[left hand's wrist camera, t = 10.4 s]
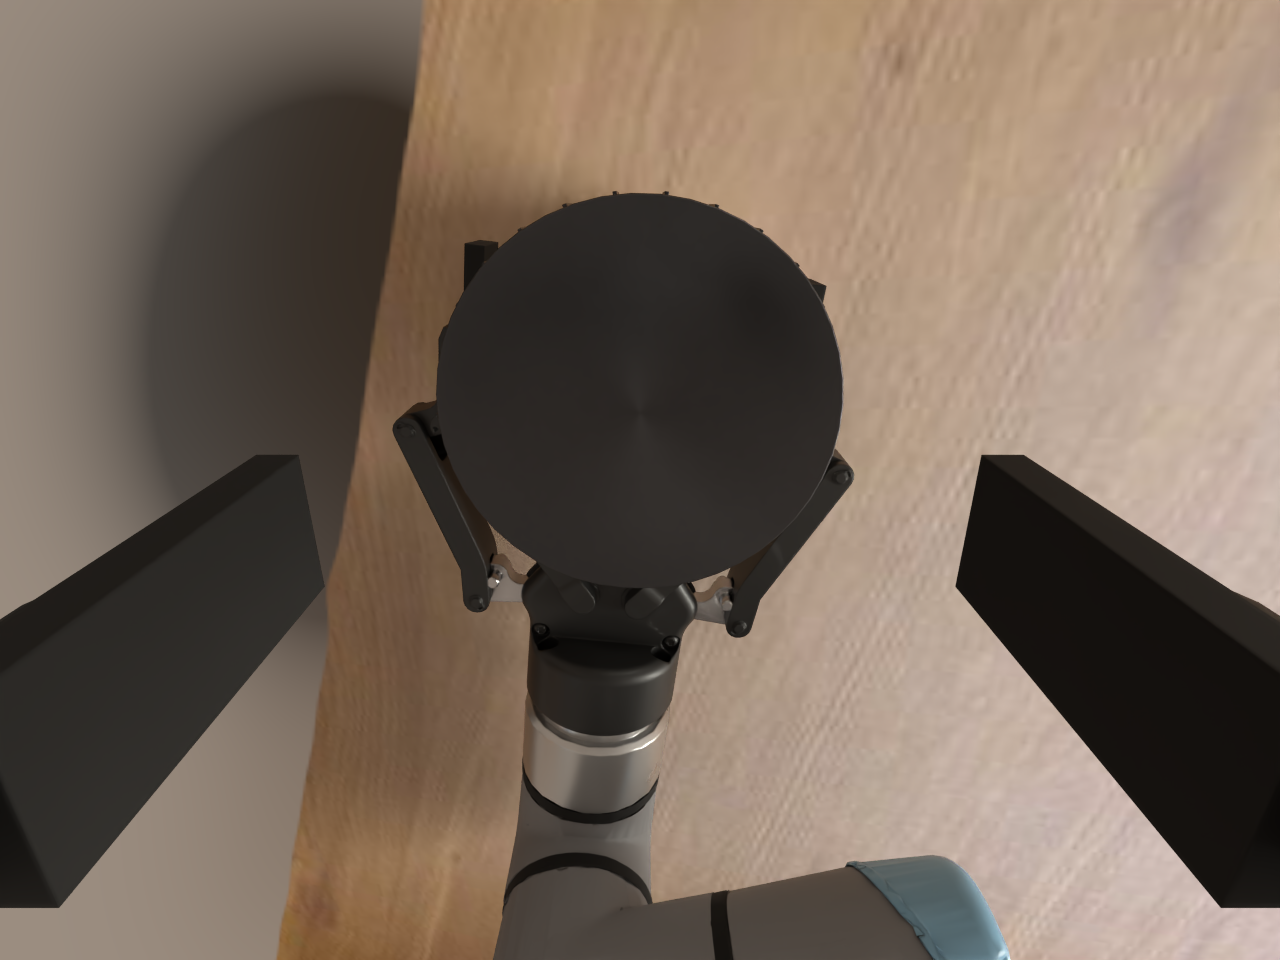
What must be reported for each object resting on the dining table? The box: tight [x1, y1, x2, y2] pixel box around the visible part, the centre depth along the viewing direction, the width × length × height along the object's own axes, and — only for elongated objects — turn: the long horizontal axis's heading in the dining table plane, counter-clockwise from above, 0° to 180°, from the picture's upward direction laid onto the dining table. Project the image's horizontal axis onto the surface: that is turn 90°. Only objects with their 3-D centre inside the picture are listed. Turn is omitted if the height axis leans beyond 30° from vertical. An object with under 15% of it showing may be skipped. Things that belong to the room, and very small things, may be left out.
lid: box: [436, 191, 843, 588], centre depth 21 cm, size 12×12×2 cm
